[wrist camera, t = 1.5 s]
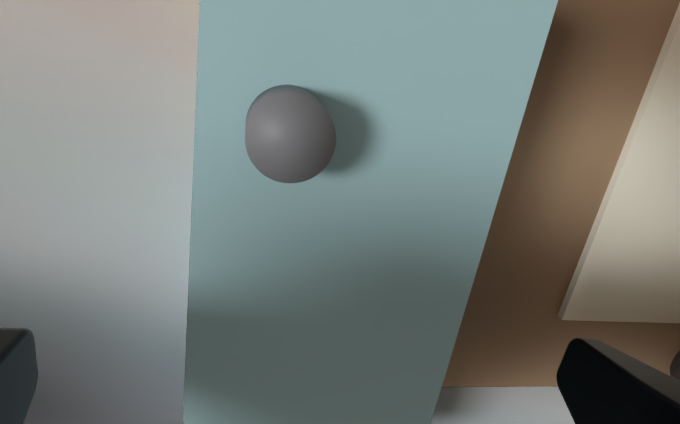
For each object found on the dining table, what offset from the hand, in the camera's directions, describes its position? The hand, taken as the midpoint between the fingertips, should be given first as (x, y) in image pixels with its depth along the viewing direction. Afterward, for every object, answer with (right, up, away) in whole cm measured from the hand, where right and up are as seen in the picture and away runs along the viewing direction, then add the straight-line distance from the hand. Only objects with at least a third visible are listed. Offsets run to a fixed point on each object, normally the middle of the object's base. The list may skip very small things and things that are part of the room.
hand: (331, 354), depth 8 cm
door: (-1, +2, +4) cm, 5 cm away
